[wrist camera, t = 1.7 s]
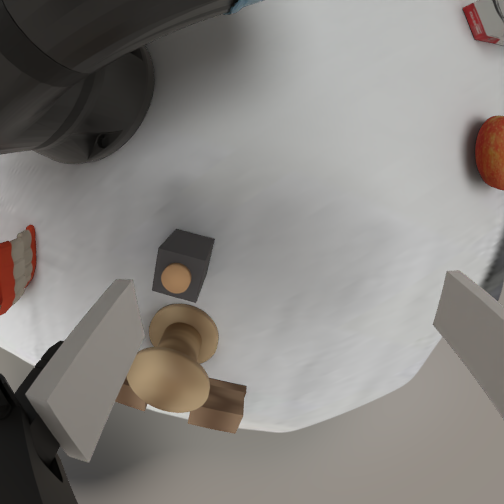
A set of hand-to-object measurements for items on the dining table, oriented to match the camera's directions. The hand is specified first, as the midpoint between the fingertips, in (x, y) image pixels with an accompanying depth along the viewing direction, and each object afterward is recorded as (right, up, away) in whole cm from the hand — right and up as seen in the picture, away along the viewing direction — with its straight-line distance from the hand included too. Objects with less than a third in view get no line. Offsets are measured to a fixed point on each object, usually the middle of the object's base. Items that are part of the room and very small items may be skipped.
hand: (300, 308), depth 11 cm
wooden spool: (-10, -7, +22) cm, 25 cm away
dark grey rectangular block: (-8, +2, +19) cm, 21 cm away
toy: (-34, +1, +20) cm, 40 cm away
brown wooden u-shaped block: (-12, -15, +25) cm, 31 cm away
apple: (+25, +14, +15) cm, 33 cm away
